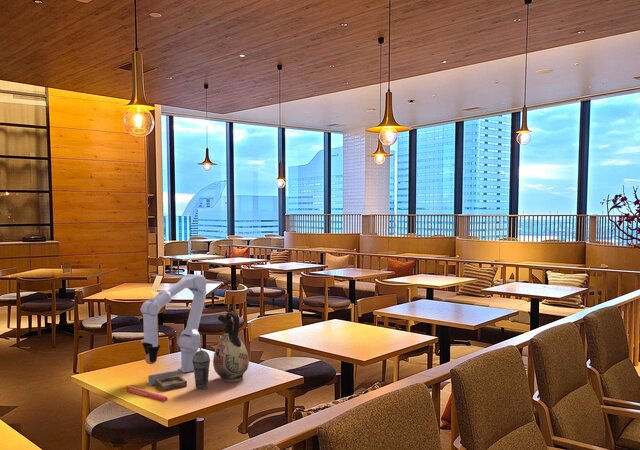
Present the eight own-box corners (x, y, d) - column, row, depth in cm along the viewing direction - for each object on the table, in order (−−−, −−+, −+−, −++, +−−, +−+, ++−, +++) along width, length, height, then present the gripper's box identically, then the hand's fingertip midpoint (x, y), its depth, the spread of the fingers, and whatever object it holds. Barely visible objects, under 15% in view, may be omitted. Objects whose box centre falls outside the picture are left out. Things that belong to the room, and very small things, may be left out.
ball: (155, 361, 216) (155, 350, 216) (158, 364, 212) (158, 352, 212) (143, 363, 213) (143, 352, 213) (146, 366, 209) (146, 354, 209)
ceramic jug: (206, 379, 212) (204, 311, 212) (234, 371, 224) (233, 306, 223) (229, 388, 201) (228, 315, 200) (259, 379, 212) (257, 310, 212)
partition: (175, 378, 215) (175, 369, 215) (178, 380, 212) (177, 371, 212) (147, 384, 208) (147, 374, 208) (149, 386, 205) (149, 376, 205)
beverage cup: (194, 392, 196) (193, 343, 196) (190, 387, 203) (189, 339, 203) (212, 389, 200) (211, 340, 199) (208, 384, 206) (207, 337, 206)
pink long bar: (133, 391, 203) (123, 391, 199) (134, 386, 203) (124, 385, 200) (171, 402, 189) (161, 402, 186) (172, 396, 190) (163, 396, 186)
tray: (179, 380, 213) (179, 375, 212) (186, 386, 204) (186, 381, 204) (155, 384, 207) (155, 379, 207) (162, 391, 199) (162, 386, 199)
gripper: (137, 327, 216) (137, 358, 216) (145, 333, 204) (146, 365, 204) (153, 325, 220) (154, 355, 220) (162, 330, 208) (163, 362, 208)
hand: (151, 360), depth 213 cm, fingers closed on ball, 5 cm apart
